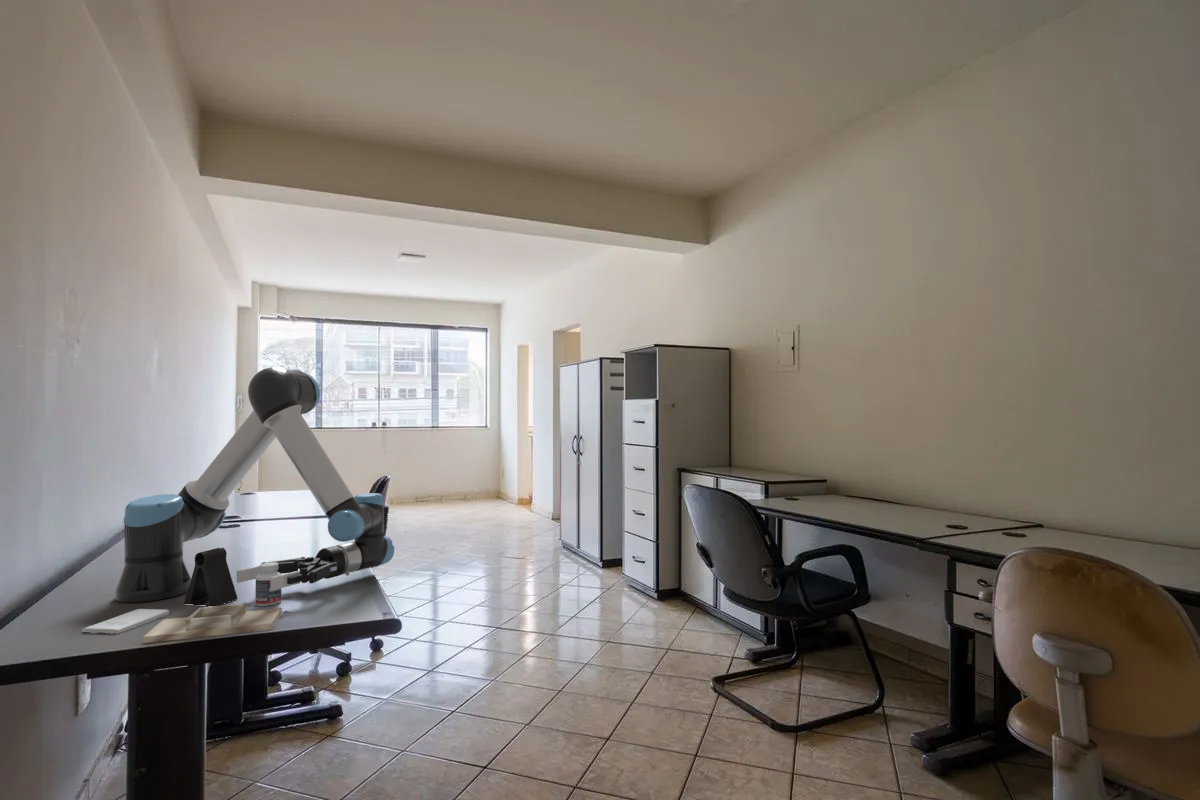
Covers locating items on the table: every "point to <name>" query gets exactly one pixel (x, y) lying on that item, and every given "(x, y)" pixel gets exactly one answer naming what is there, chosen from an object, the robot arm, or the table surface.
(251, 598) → the table surface
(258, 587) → the pill bottle
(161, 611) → the external hard drive
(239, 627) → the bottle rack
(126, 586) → the robot arm
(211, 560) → the phone stand
